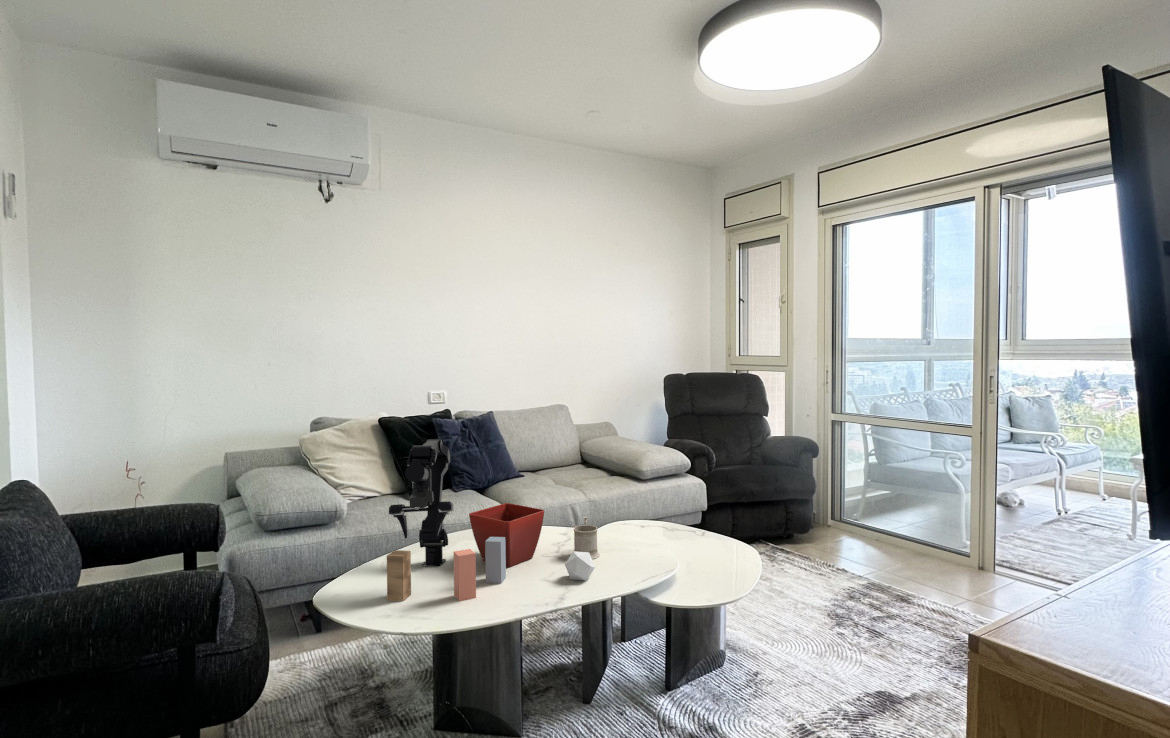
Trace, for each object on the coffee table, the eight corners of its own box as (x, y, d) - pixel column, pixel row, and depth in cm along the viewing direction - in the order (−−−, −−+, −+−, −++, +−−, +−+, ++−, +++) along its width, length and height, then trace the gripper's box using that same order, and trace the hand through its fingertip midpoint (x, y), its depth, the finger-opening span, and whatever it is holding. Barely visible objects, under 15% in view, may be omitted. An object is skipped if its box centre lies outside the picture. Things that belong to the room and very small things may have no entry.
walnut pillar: (395, 593, 179) (394, 550, 179) (411, 594, 179) (410, 550, 179) (387, 600, 175) (386, 555, 174) (403, 601, 174) (402, 556, 174)
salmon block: (454, 595, 178) (453, 551, 178) (470, 592, 180) (470, 548, 180) (459, 601, 173) (458, 556, 173) (476, 597, 176) (475, 553, 176)
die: (598, 577, 193) (584, 548, 198) (599, 572, 185) (585, 542, 190) (574, 589, 191) (561, 560, 196) (574, 584, 184) (560, 554, 188)
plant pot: (508, 573, 196) (507, 521, 196) (468, 562, 208) (467, 513, 208) (546, 557, 212) (545, 509, 211) (507, 548, 223) (506, 502, 223)
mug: (599, 560, 208) (599, 525, 208) (571, 560, 208) (570, 525, 208) (599, 547, 223) (599, 514, 223) (573, 547, 223) (572, 515, 223)
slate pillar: (490, 577, 193) (490, 536, 192) (505, 578, 192) (505, 537, 192) (485, 582, 188) (485, 541, 188) (501, 583, 187) (500, 541, 187)
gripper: (385, 484, 179) (384, 539, 175) (449, 480, 181) (449, 534, 177) (393, 488, 190) (392, 539, 186) (453, 484, 192) (453, 535, 188)
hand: (421, 537), depth 184 cm, fingers open, 9 cm apart
